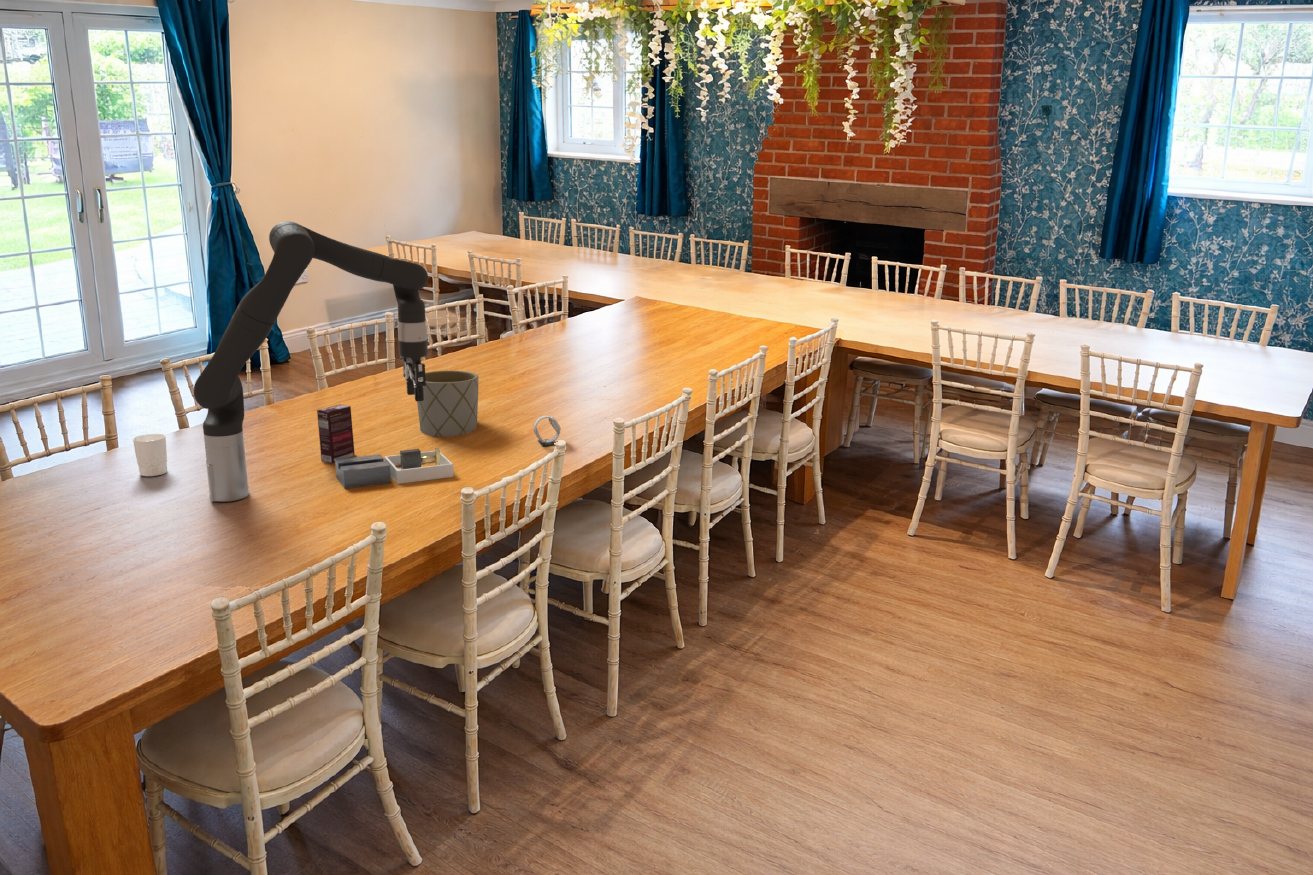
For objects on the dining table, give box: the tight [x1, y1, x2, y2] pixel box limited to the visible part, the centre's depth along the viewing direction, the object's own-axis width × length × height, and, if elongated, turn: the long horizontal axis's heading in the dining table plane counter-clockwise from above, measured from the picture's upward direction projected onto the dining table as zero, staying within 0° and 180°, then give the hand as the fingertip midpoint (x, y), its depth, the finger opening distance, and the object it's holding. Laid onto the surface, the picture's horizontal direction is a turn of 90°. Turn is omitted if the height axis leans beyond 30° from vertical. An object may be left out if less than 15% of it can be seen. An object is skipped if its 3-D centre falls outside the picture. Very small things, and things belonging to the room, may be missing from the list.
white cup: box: [132, 433, 168, 477], centre depth 271 cm, size 8×8×10 cm
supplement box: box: [316, 403, 355, 465], centre depth 283 cm, size 9×5×16 cm, turn 149°
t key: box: [399, 447, 442, 470], centre depth 275 cm, size 6×2×10 cm
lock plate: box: [334, 454, 392, 489], centre depth 268 cm, size 12×12×5 cm
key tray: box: [383, 450, 455, 485], centre depth 275 cm, size 15×15×4 cm
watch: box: [533, 414, 562, 448], centre depth 296 cm, size 6×8×11 cm
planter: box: [416, 370, 479, 438], centre depth 307 cm, size 19×19×20 cm
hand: (415, 397), depth 270 cm, fingers open, 8 cm apart
